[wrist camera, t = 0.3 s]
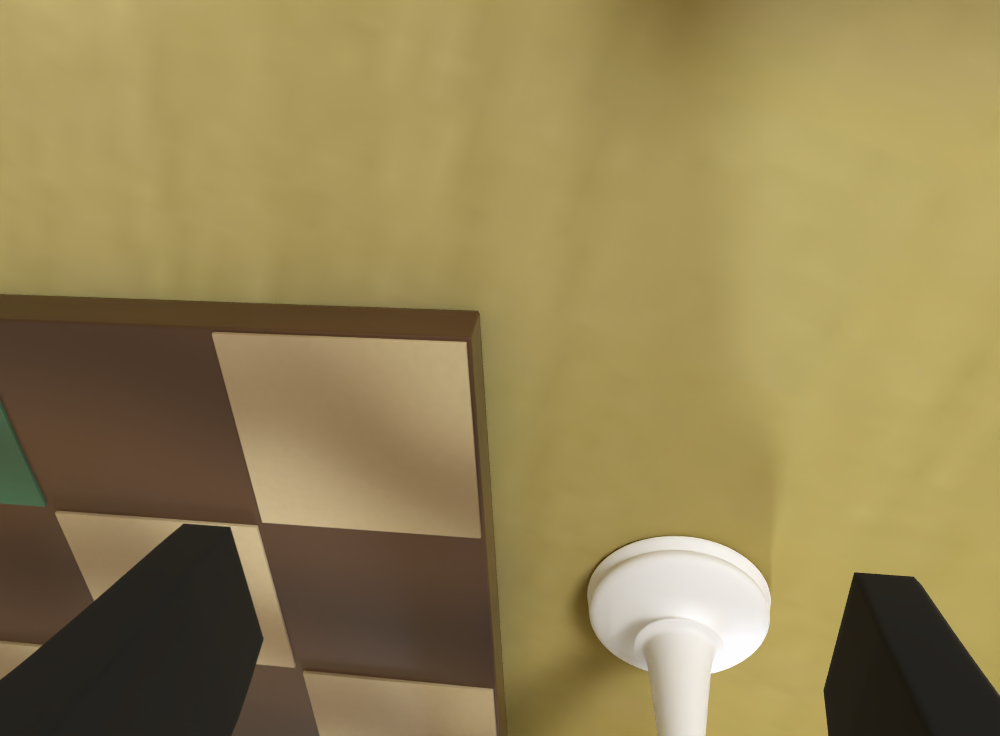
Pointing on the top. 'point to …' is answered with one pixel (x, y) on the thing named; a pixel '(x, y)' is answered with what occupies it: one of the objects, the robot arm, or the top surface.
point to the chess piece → (679, 619)
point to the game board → (266, 493)
